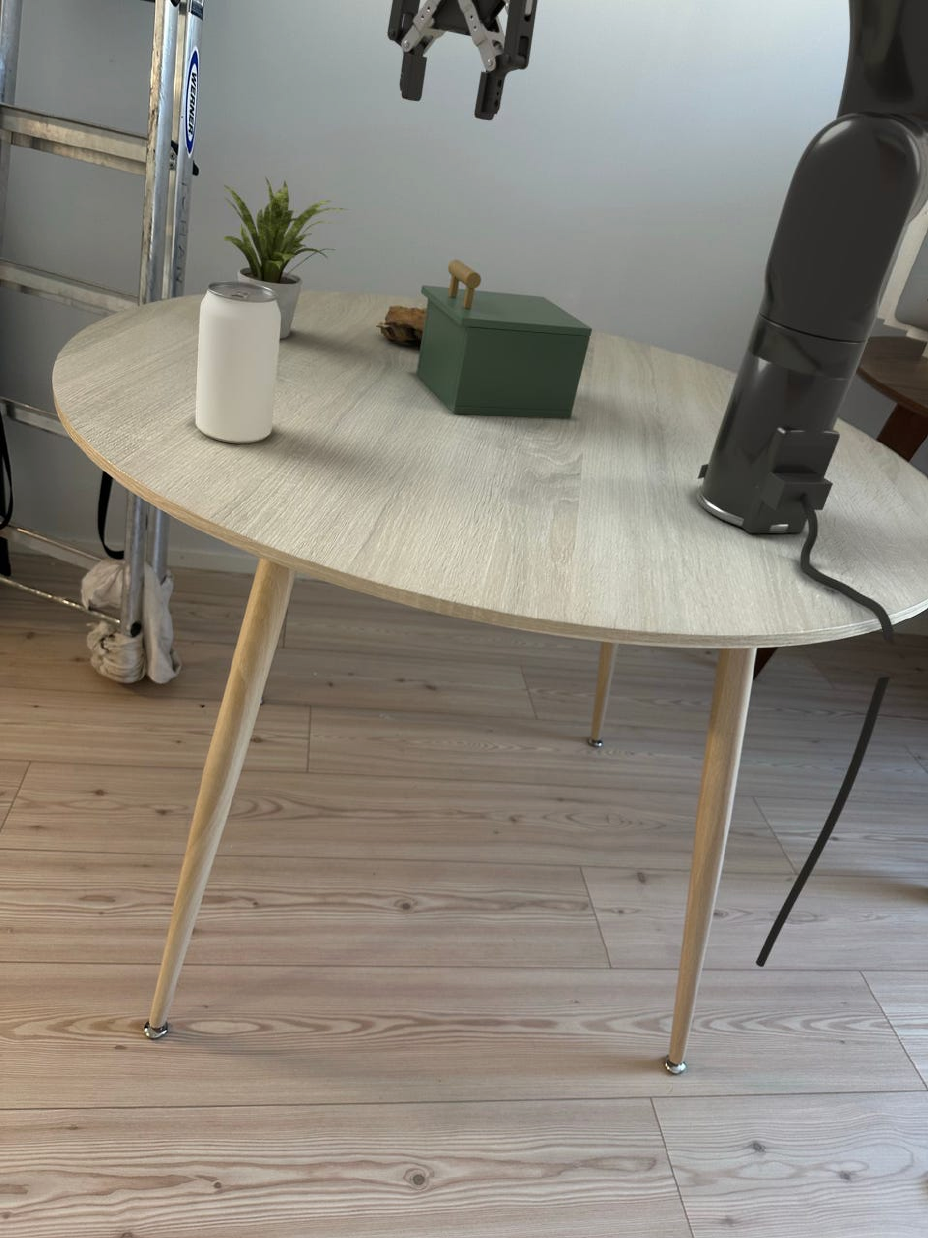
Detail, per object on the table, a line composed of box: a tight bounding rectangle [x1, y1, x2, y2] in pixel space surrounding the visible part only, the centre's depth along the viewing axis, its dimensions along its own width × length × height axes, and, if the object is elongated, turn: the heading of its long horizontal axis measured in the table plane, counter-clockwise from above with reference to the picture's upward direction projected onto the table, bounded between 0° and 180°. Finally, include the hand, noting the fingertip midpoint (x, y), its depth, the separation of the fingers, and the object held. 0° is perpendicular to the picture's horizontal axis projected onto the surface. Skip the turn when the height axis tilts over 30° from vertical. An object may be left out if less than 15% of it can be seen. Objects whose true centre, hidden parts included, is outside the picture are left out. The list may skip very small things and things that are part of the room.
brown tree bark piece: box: [375, 305, 427, 342], centre depth 120 cm, size 11×4×15 cm
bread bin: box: [415, 298, 591, 419], centre depth 105 cm, size 14×12×9 cm
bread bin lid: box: [420, 259, 593, 337], centre depth 101 cm, size 14×12×4 cm
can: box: [195, 280, 281, 445], centre depth 83 cm, size 6×6×12 cm
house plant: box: [219, 176, 348, 339], centre depth 108 cm, size 14×14×16 cm
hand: (446, 109), depth 91 cm, fingers open, 8 cm apart
